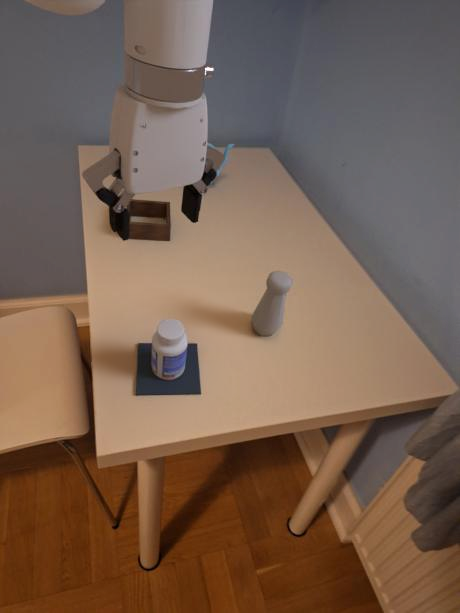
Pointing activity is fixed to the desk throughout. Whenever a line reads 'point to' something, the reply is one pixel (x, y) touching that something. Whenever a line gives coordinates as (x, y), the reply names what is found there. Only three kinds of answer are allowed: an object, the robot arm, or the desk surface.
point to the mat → (157, 386)
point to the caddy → (149, 229)
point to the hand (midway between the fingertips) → (156, 225)
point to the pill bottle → (169, 349)
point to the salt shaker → (272, 304)
